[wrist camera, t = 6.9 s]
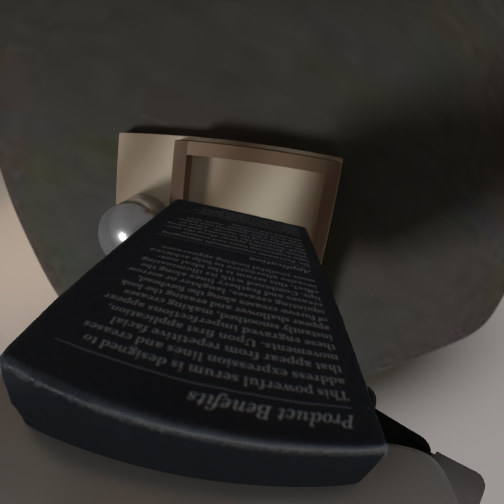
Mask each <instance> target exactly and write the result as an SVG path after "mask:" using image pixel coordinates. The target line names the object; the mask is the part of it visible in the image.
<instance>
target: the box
mask: <svg viewBox="0 0 504 504" xmlns="http://www.w3.org/2000/svg"><path fill="white" fill-rule="evenodd" d="M0 373H1V375H2V378H3V381H4V383H5V386H6V389H7V392H8V395H9V397H10V400H11V403H12V405H13V406H14V407H15V408H16V409H17V410H18V412H19V414H20V415H21V416H22V418H23V420H24V422H25V423H26V424H27V425H29V426H30V427H32V428H34V429H35V430H37V431H39V432H41V433H44V434H46V435H48V436H50V437H53V438H55V439H58V440H60V441H63V442H65V443H68V444H70V445H73V446H75V447H78V448H81V449H84V450H87V451H89V452H92V453H95V454H98V455H101V456H104V457H108V458H111V459H114V460H118V461H121V462H125V463H128V464H132V465H136V466H140V467H144V468H148V469H152V470H156V471H161V472H165V473H170V474H175V475H180V476H186V477H191V478H197V479H204V480H210V481H218V482H226V483H235V484H245V485H258V486H277V487H326V486H341V485H350V484H356V483H359V482H360V481H361V480H362V479H363V478H364V477H365V476H366V475H367V474H368V473H369V472H370V471H371V470H372V469H373V468H374V467H375V466H376V465H377V463H378V462H380V461H381V460H382V459H383V458H384V457H385V455H386V454H387V452H388V447H387V443H386V440H385V437H384V434H383V431H382V428H381V425H380V423H379V420H378V418H377V415H376V413H375V410H374V407H373V404H372V401H371V398H370V395H369V392H368V388H367V385H366V382H365V380H364V378H363V375H362V372H361V369H360V366H359V363H358V361H357V358H356V354H355V352H354V350H353V347H352V344H351V341H350V339H349V336H348V333H347V331H346V328H345V325H344V322H343V319H342V316H341V314H340V312H339V309H338V306H337V304H336V301H335V299H334V296H333V293H332V291H331V289H330V286H329V284H328V281H327V278H326V276H325V273H324V271H323V268H322V266H321V263H320V261H319V258H318V256H317V253H316V251H315V249H314V246H313V244H312V242H311V239H310V237H309V235H308V232H307V230H306V228H304V227H302V226H298V225H293V224H288V223H284V222H281V221H275V220H272V219H268V218H262V217H259V216H255V215H250V214H246V213H241V212H237V211H232V210H229V209H224V208H219V207H215V206H210V205H205V204H201V203H196V202H192V201H187V200H182V199H177V200H175V201H174V202H173V203H171V204H170V205H169V206H167V207H166V208H165V209H163V210H162V211H161V212H159V213H158V214H157V215H156V216H154V217H153V218H152V219H151V220H149V221H148V222H147V223H146V224H145V225H143V226H142V227H141V228H139V229H138V230H137V231H136V232H134V233H133V234H132V235H131V236H129V237H128V238H127V239H126V240H124V241H123V242H122V243H121V244H119V245H118V246H117V247H116V248H115V249H114V250H112V251H111V252H110V253H109V254H108V255H107V256H106V257H105V258H103V259H102V260H101V261H100V262H98V263H97V264H96V265H95V266H94V267H93V268H92V269H90V270H89V271H88V272H87V273H86V274H84V275H83V276H82V277H81V278H80V279H79V280H78V281H77V282H75V283H74V284H73V285H72V286H71V287H70V288H69V289H68V290H66V291H65V292H64V293H63V294H61V295H60V296H59V297H58V298H57V299H56V300H55V301H54V302H53V303H52V304H51V305H50V306H49V307H48V308H47V309H46V310H45V311H43V312H42V314H41V315H40V316H39V317H38V318H37V319H36V320H34V321H33V322H32V323H31V324H30V325H29V326H28V327H27V328H26V329H25V331H23V332H22V333H21V334H20V335H19V336H18V337H17V338H16V339H15V340H14V341H13V342H12V343H11V344H10V345H9V346H8V347H7V348H6V349H5V351H4V352H3V353H2V355H1V356H0Z"/></svg>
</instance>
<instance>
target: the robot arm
mask: <svg viewBox="0 0 504 504" xmlns="http://www.w3.org/2000/svg"><path fill="white" fill-rule="evenodd" d="M367 388H368V392H369V395H370V398H371V401H372V404H373V407H374V410H375V413H376V415H377V418H378V420H379V423H380V425H381V428H382V431H383V434H384V437H385V440H386V443H387V447H388V452H387V454H386V455H385V457H384V458H383V459H382V460H381V461H380V462H378V463H377V465H376V466H375V467H374V468H373V469H372V470H371V471H370V472H369V473H368V474H367V475H366V476H365V477H364V478H363V479H362V480H361V481H360V482H359V483H356V484H350V485H341V486H326V487H277V486H258V485H245V484H235V483H226V482H218V481H210V480H204V479H197V478H191V477H186V476H180V475H175V474H170V473H165V472H161V471H156V470H152V469H148V468H144V467H140V466H136V465H132V464H128V463H125V462H121V461H118V460H114V459H111V458H108V457H104V456H101V455H98V454H95V453H92V452H89V451H87V450H84V449H81V448H78V447H75V446H73V445H70V444H68V443H65V442H63V441H60V440H58V439H55V438H53V437H50V436H48V435H46V434H44V433H41V432H39V431H37V430H35V429H34V428H32V427H30V426H29V425H27V424H26V423H25V422H24V420H23V418H22V416H21V415H20V414H19V412H18V410H17V409H16V408H15V407H14V406H13V405H12V403H11V400H10V397H9V395H8V392H7V389H6V386H5V383H4V381H3V378H2V375H1V373H0V504H479V503H480V501H481V498H482V496H483V493H484V489H485V483H484V480H483V478H482V476H481V475H480V474H478V473H477V472H476V471H473V470H471V469H469V468H467V467H466V466H463V465H462V464H460V463H458V462H456V461H454V460H452V459H450V458H448V457H446V456H444V455H442V454H441V453H439V452H436V454H433V453H431V449H430V446H429V444H428V443H427V441H426V440H425V439H424V438H422V437H421V436H420V435H418V434H416V433H415V432H413V431H411V430H410V429H408V428H406V427H405V426H403V425H401V424H400V423H398V422H396V421H395V420H393V419H391V418H390V417H388V416H387V415H385V414H383V413H382V412H380V411H378V410H377V409H375V406H376V396H375V394H374V392H373V391H372V390H371V388H370V387H368V386H367Z"/></svg>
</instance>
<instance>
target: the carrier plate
mask: <svg viewBox="0 0 504 504" xmlns="http://www.w3.org/2000/svg"><path fill="white" fill-rule="evenodd" d="M342 162H343V159H342V158H339V157H334V156H329V155H324V154H319V153H313V152H308V151H302V150H296V149H290V148H284V147H277V146H271V145H264V144H257V143H249V142H241V141H233V140H224V139H215V138H205V137H194V136H182V135H168V134H151V133H128V132H125V133H120V135H119V149H118V165H117V190H116V205H115V206H113V207H112V208H110V209H109V210H107V211H106V212H105V213H104V215H103V216H102V218H101V220H100V223H99V228H98V237H99V241H100V244H101V247H102V249H103V251H104V252H105V254H106V255H108V254H109V253H110V252H111V251H112V250H114V249H115V248H116V247H117V246H118V245H119V244H121V243H122V242H123V241H124V240H126V239H127V238H128V237H129V236H131V235H132V234H133V233H134V232H136V231H137V230H138V229H139V228H141V227H142V226H143V225H145V224H146V223H147V222H148V221H149V220H151V219H152V218H153V217H154V216H156V215H157V214H158V213H159V212H161V211H162V210H163V209H165V208H166V207H167V206H169V205H170V204H171V203H173V202H174V201H175V200H177V199H182V200H187V201H192V202H196V203H201V204H205V205H210V206H215V207H219V208H224V209H229V210H232V211H237V212H241V213H246V214H250V215H255V216H259V217H262V218H268V219H272V220H275V221H281V222H284V223H288V224H293V225H298V226H302V227H304V228H306V230H307V232H308V235H309V237H310V239H311V242H312V244H313V246H314V249H315V251H316V253H317V256H318V258H319V261H320V263H321V264H322V260H323V255H324V251H325V247H326V242H327V238H328V233H329V228H330V224H331V219H332V214H333V209H334V204H335V199H336V194H337V189H338V184H339V179H340V173H341V168H342Z"/></svg>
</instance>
